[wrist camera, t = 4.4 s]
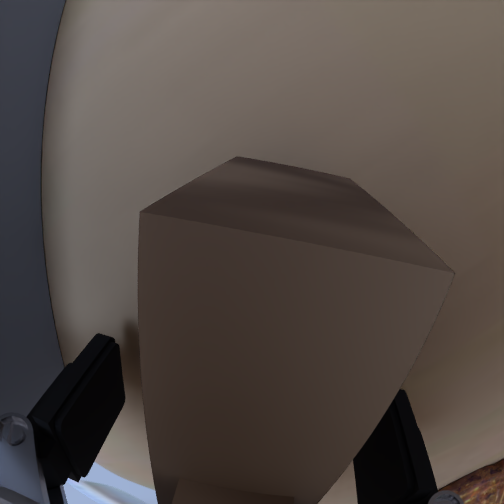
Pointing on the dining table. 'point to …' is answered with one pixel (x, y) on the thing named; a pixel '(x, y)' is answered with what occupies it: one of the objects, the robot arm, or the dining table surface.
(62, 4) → the board
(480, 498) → the bell
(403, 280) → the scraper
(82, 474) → the robot arm
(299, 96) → the dining table surface
